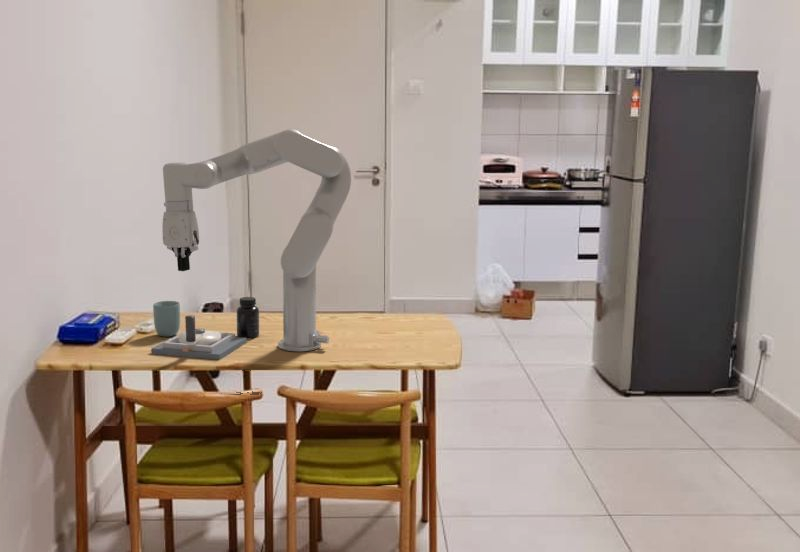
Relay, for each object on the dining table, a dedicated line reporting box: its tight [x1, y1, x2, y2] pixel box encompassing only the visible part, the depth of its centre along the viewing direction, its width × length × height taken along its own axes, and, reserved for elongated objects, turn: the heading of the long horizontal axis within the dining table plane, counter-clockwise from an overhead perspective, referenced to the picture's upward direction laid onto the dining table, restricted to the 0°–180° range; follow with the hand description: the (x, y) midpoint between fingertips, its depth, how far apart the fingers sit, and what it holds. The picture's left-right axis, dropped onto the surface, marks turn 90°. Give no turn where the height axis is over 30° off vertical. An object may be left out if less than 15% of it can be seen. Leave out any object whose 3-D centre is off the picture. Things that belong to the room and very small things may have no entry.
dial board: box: [150, 330, 247, 360], centre depth 227 cm, size 21×18×3 cm
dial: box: [179, 314, 221, 346], centre depth 224 cm, size 16×12×10 cm
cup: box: [152, 300, 181, 337], centre depth 239 cm, size 8×8×10 cm
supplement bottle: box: [236, 296, 260, 340], centre depth 240 cm, size 7×7×12 cm
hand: (184, 270), depth 224 cm, fingers closed
